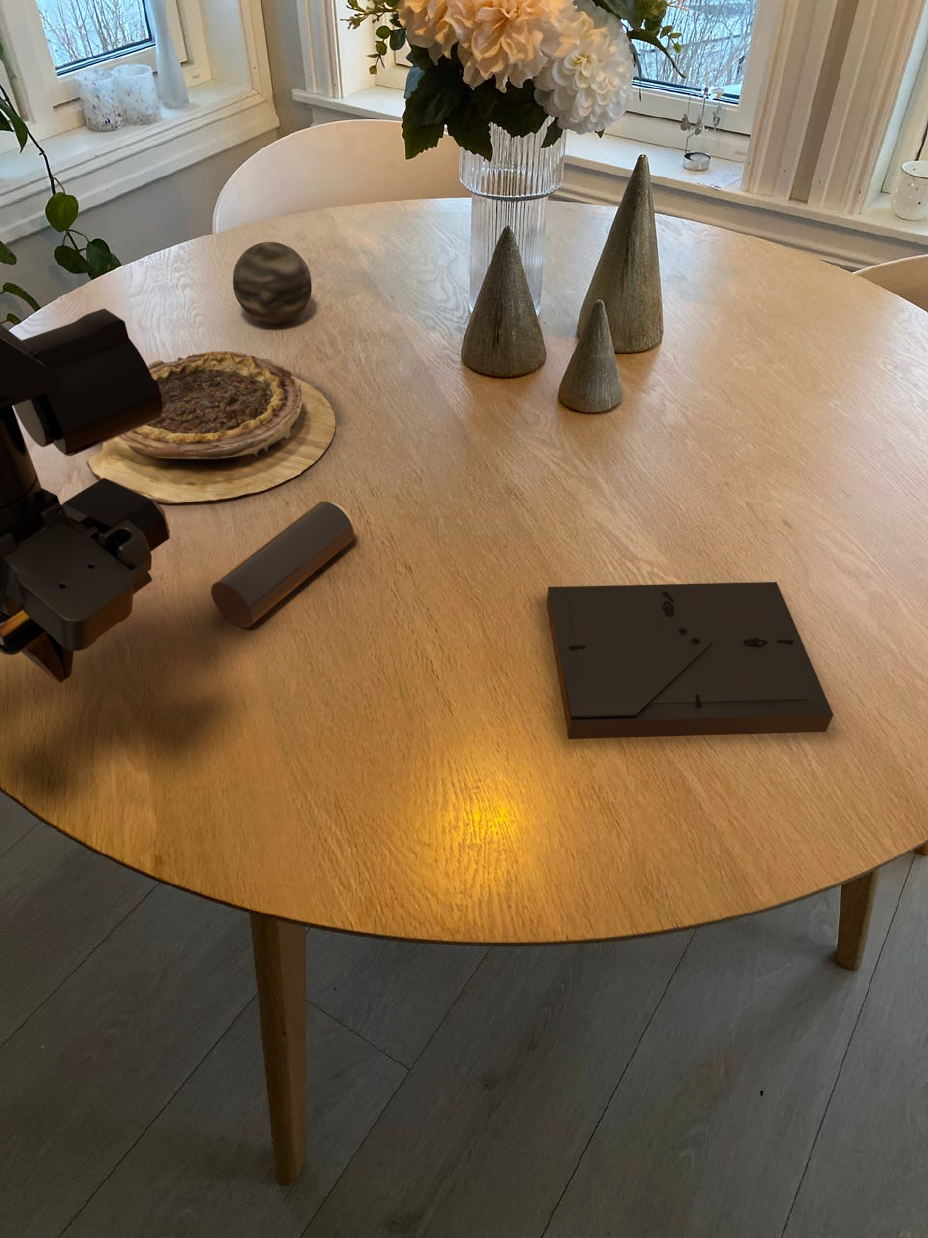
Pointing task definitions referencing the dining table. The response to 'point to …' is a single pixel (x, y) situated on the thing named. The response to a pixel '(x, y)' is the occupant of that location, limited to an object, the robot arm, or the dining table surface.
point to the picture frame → (682, 661)
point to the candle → (282, 564)
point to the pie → (220, 431)
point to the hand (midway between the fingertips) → (61, 677)
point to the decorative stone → (272, 283)
